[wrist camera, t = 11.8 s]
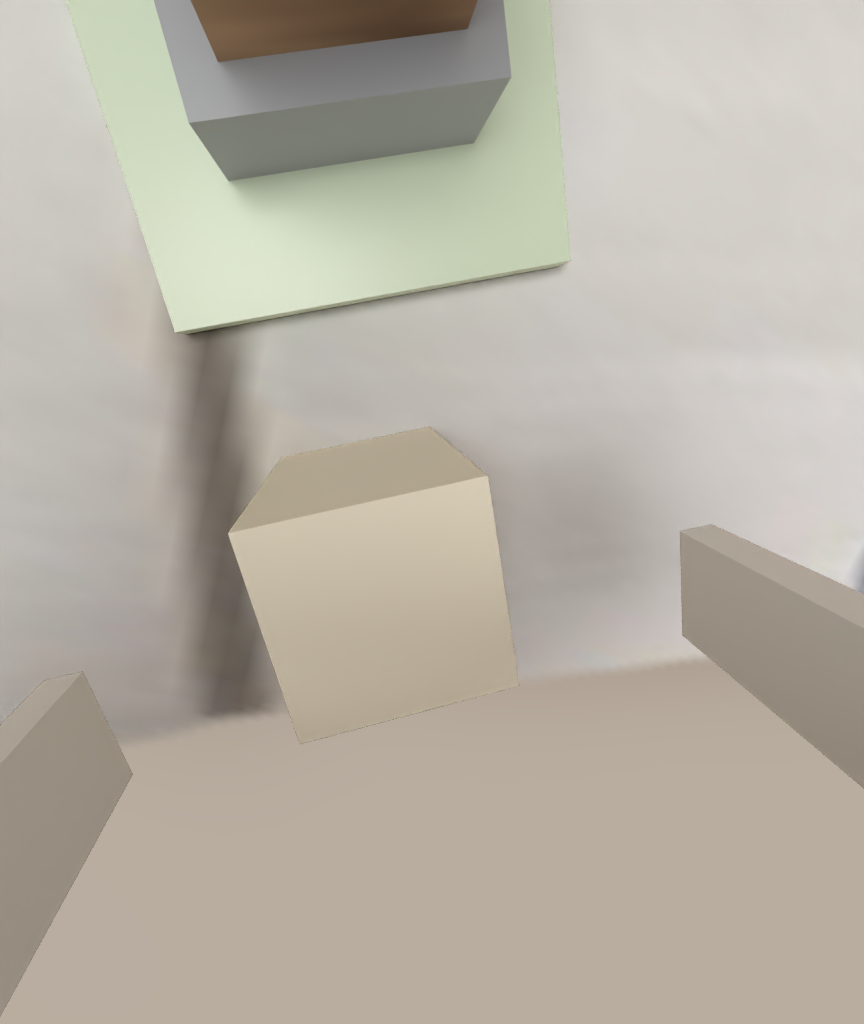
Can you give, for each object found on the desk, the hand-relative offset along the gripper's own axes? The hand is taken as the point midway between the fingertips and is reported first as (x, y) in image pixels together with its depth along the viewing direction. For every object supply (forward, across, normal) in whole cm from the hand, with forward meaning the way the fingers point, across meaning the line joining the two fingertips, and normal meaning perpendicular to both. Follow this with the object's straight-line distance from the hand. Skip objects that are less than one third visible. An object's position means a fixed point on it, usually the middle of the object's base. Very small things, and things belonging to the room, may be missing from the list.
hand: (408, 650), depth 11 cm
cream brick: (+10, 0, 0) cm, 10 cm away
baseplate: (+10, +2, +16) cm, 19 cm away
